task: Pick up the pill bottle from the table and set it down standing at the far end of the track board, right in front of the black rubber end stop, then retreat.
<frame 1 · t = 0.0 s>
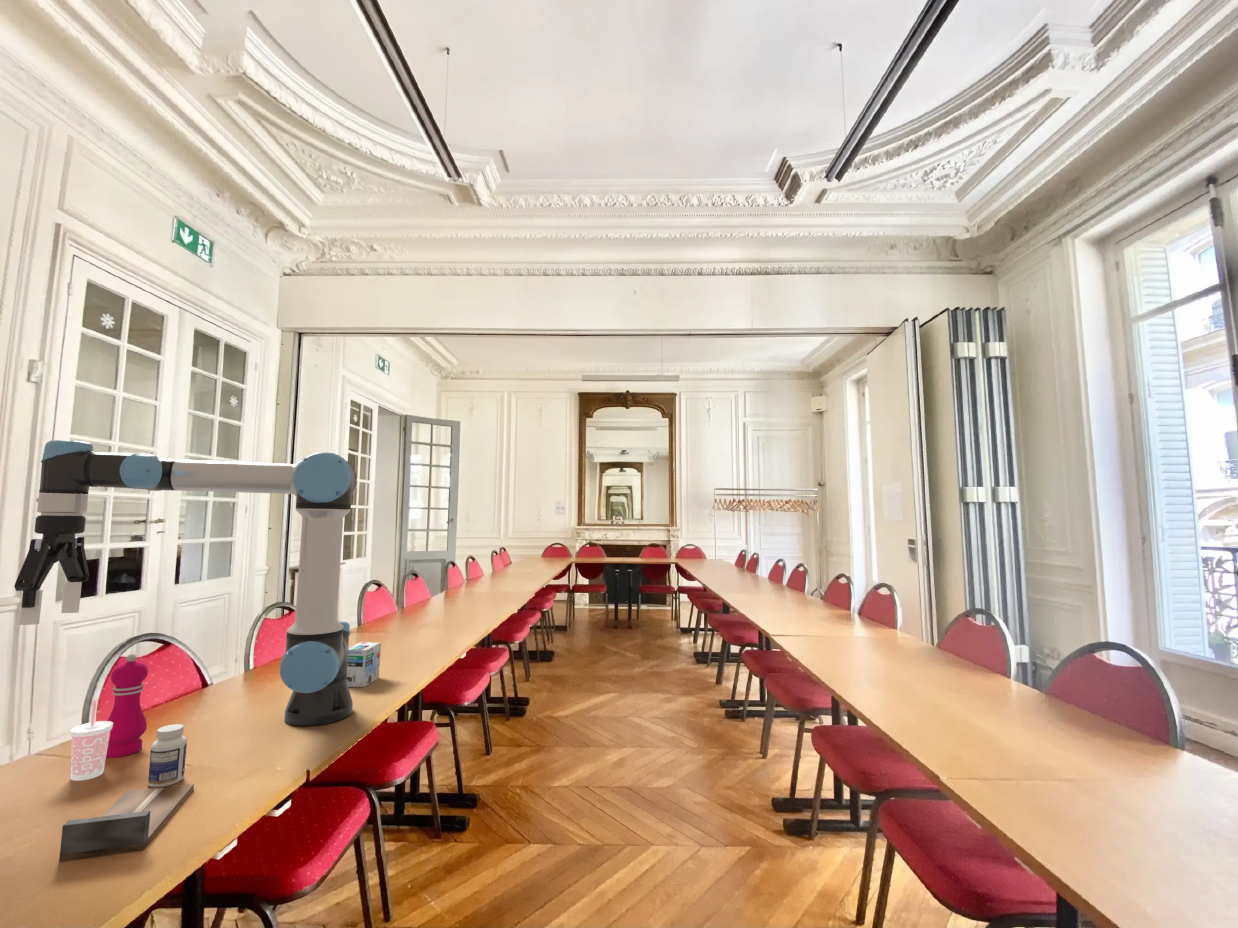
hand: (50, 618, 118), 28 cm above the table, tool pointing down, fingers open, 13 cm apart
track board: (134, 821, 94), on the table
pepper mill: (122, 752, 120), on the table
light bulb box: (361, 683, 172), on the table
beverage cup: (87, 776, 109), on the table
pill bottle: (165, 782, 108), on the table
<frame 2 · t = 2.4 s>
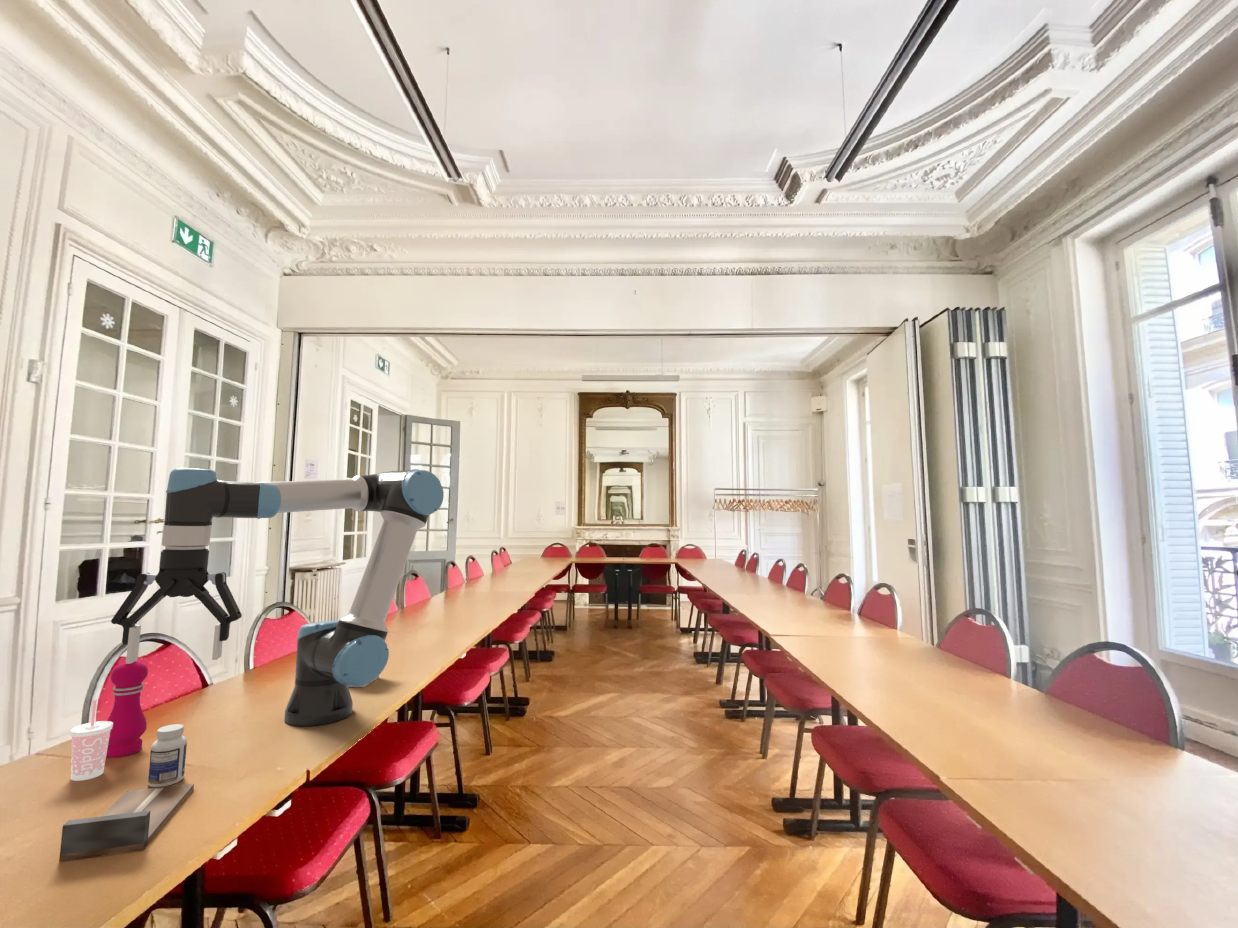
hand: (174, 660, 109), 22 cm above the table, tool pointing down, fingers open, 13 cm apart
nothing on the table moved.
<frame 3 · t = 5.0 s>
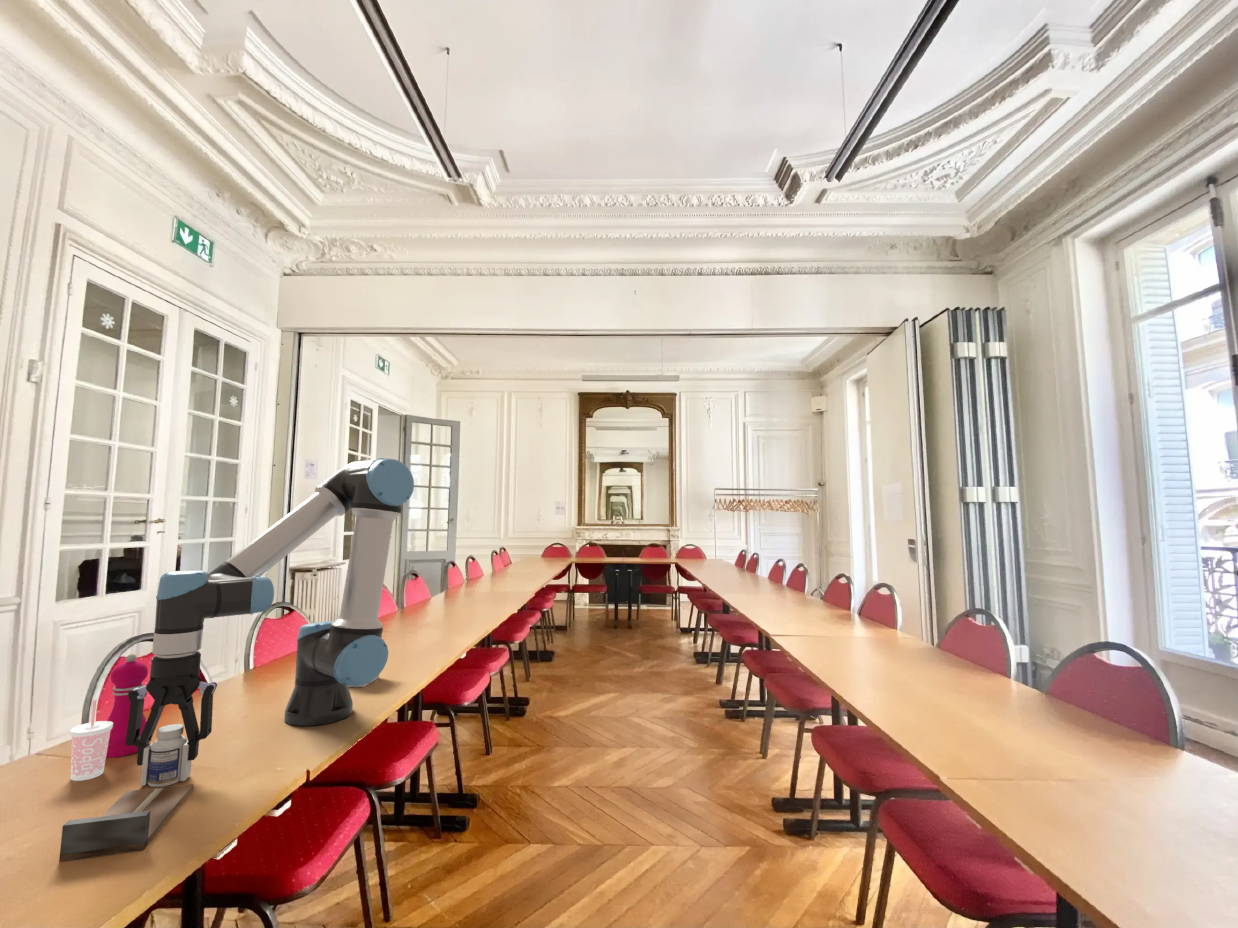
hand: (166, 779, 108), 0 cm above the table, tool pointing down, fingers closed on pill bottle, 5 cm apart
pill bottle: (165, 782, 108), on the table, touching gripper
everything else where it was.
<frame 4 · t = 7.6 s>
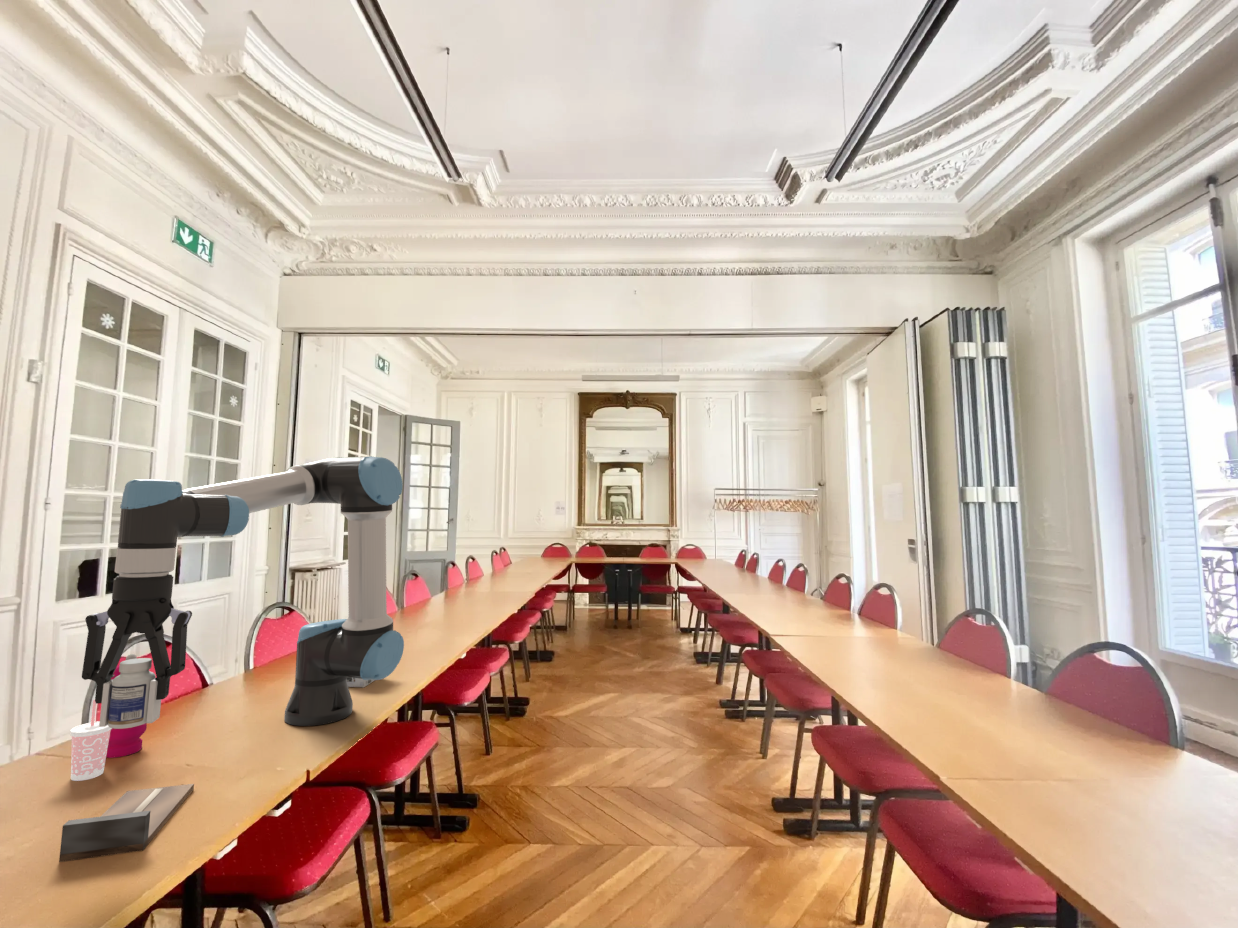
hand: (130, 721, 91), 17 cm above the table, tool pointing down, fingers closed on pill bottle, 5 cm apart
pill bottle: (129, 724, 91), point 17 cm above the table, touching gripper
everything else where it was.
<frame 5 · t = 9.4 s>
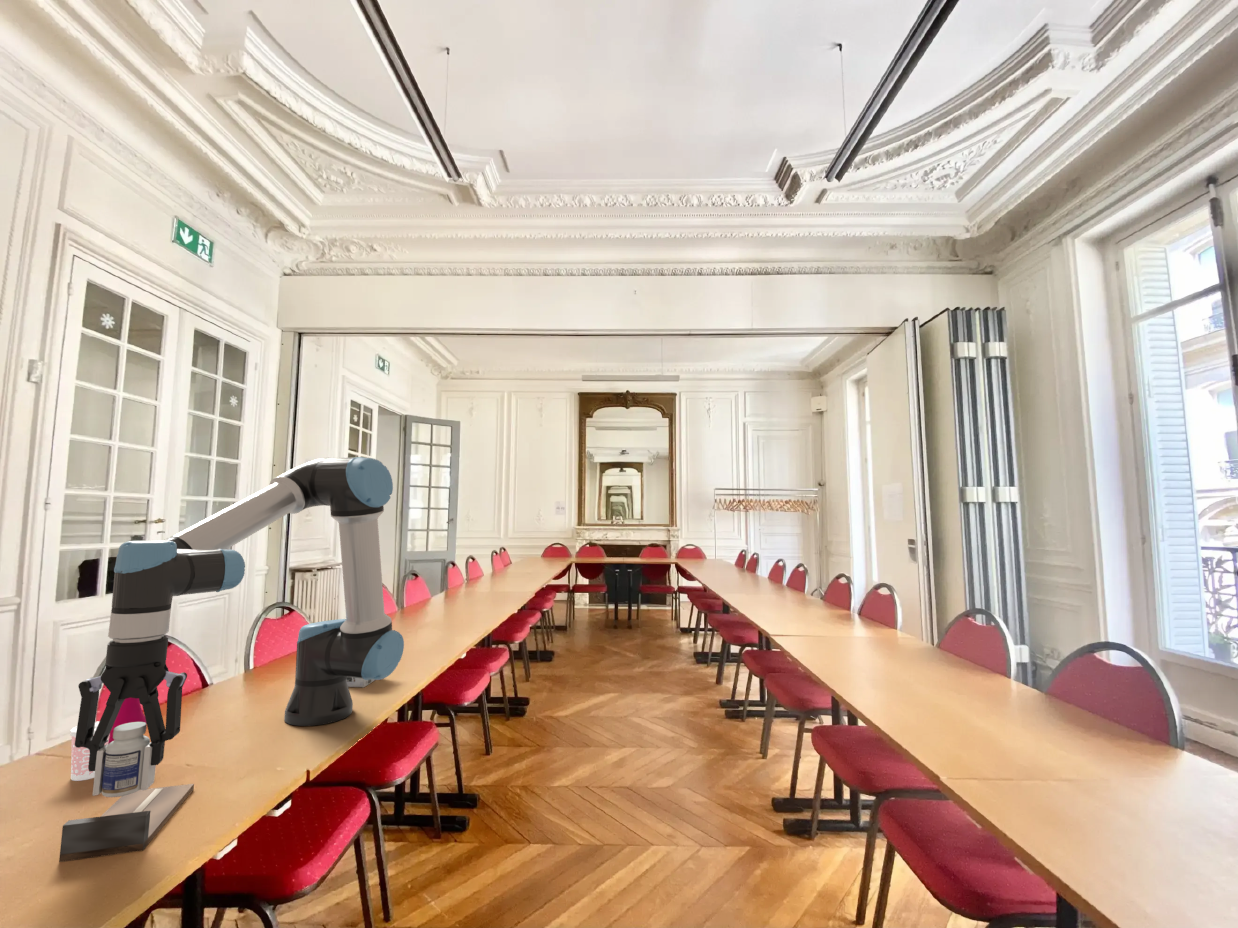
hand: (124, 788, 90), 7 cm above the table, tool pointing down, fingers closed on pill bottle, 5 cm apart
pill bottle: (123, 791, 90), point 7 cm above the table, touching gripper
everything else where it was.
when the fingers open (3 cm above the table, at t = 10.6 s): pill bottle drops 1 cm, resting on track board.
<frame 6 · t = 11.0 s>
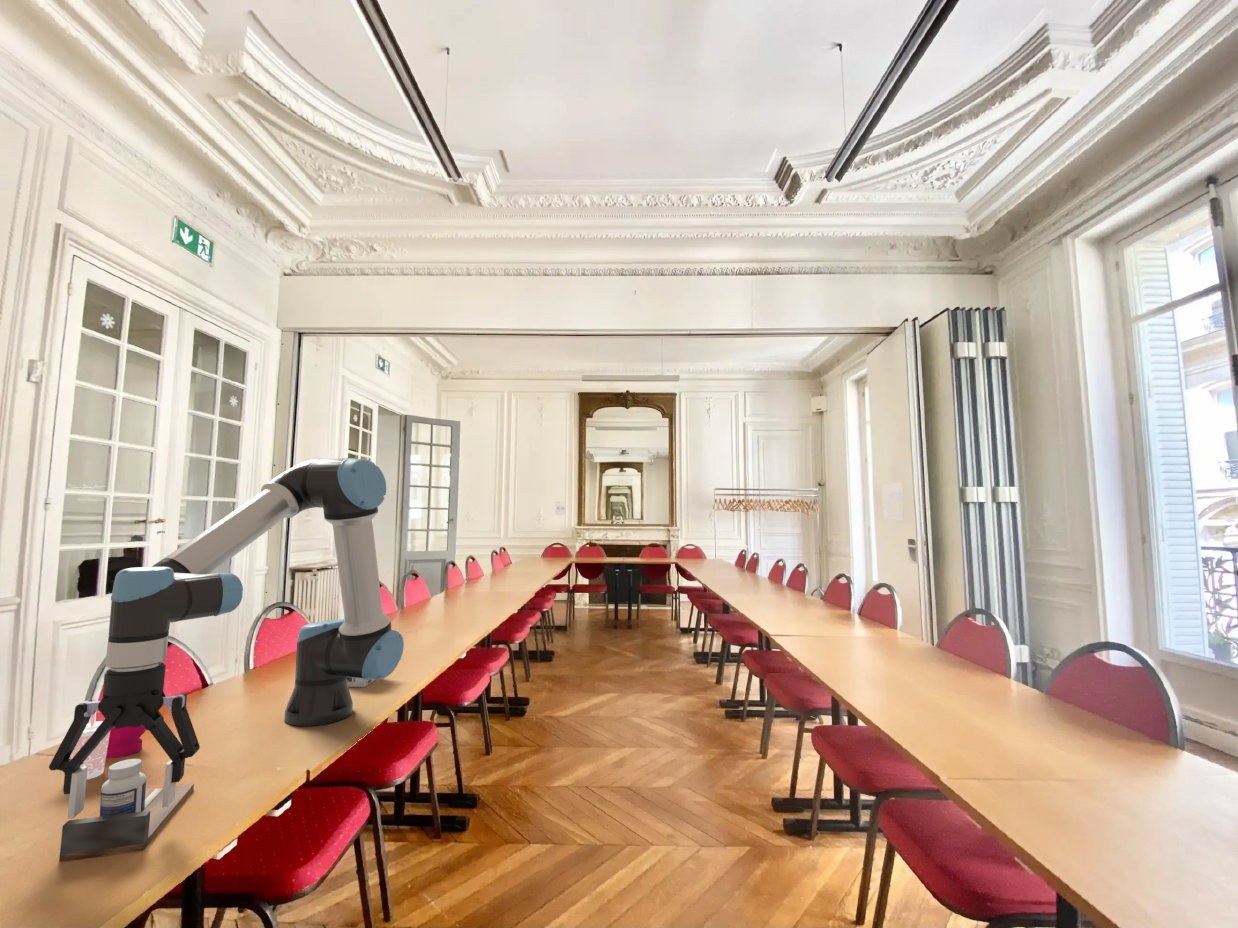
hand: (123, 808, 90), 4 cm above the table, tool pointing down, fingers open, 11 cm apart
pill bottle: (121, 829, 90), point 1 cm above the table, touching track board
everything else where it was.
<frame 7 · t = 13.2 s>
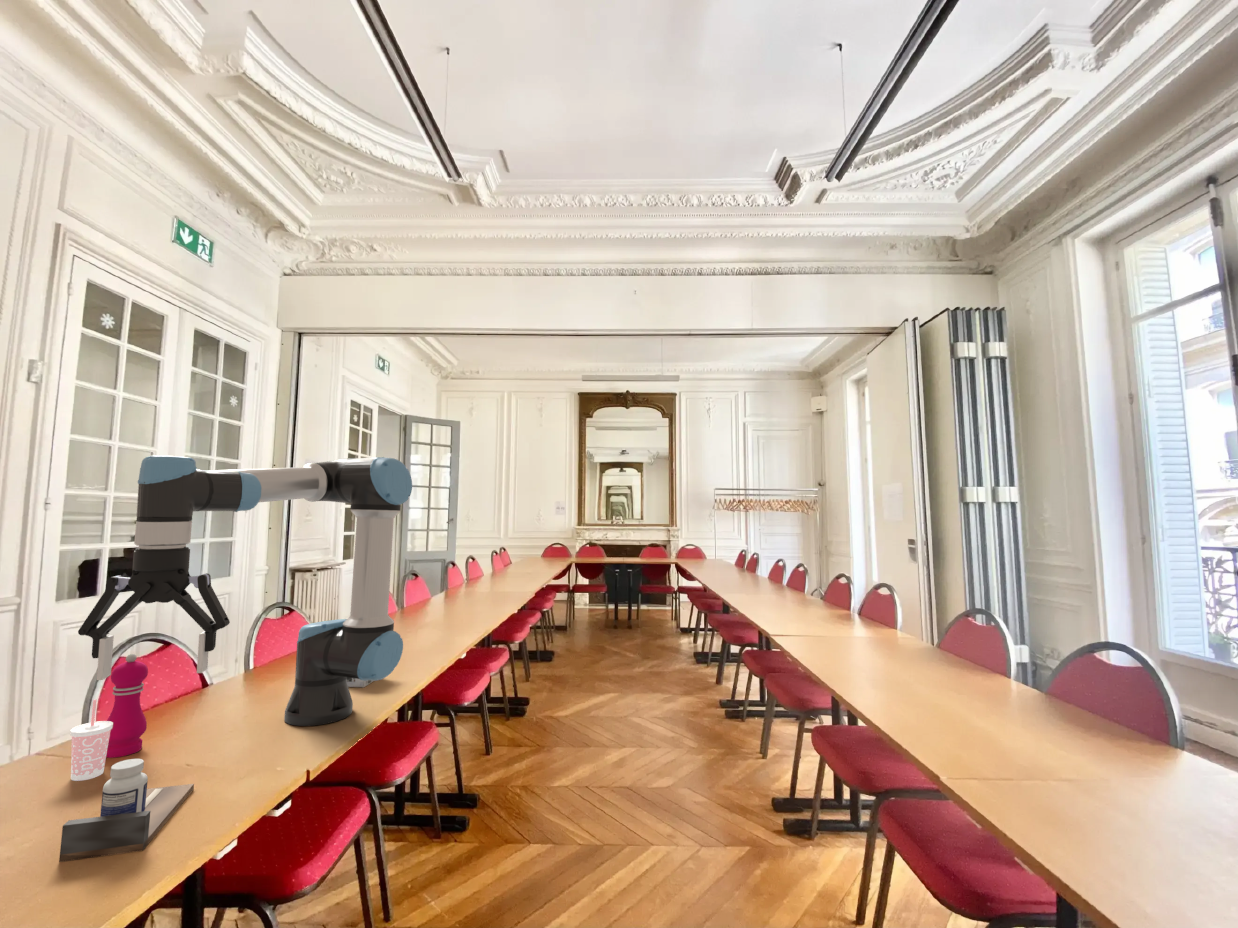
hand: (154, 674, 96), 23 cm above the table, tool pointing down, fingers open, 13 cm apart
nothing on the table moved.
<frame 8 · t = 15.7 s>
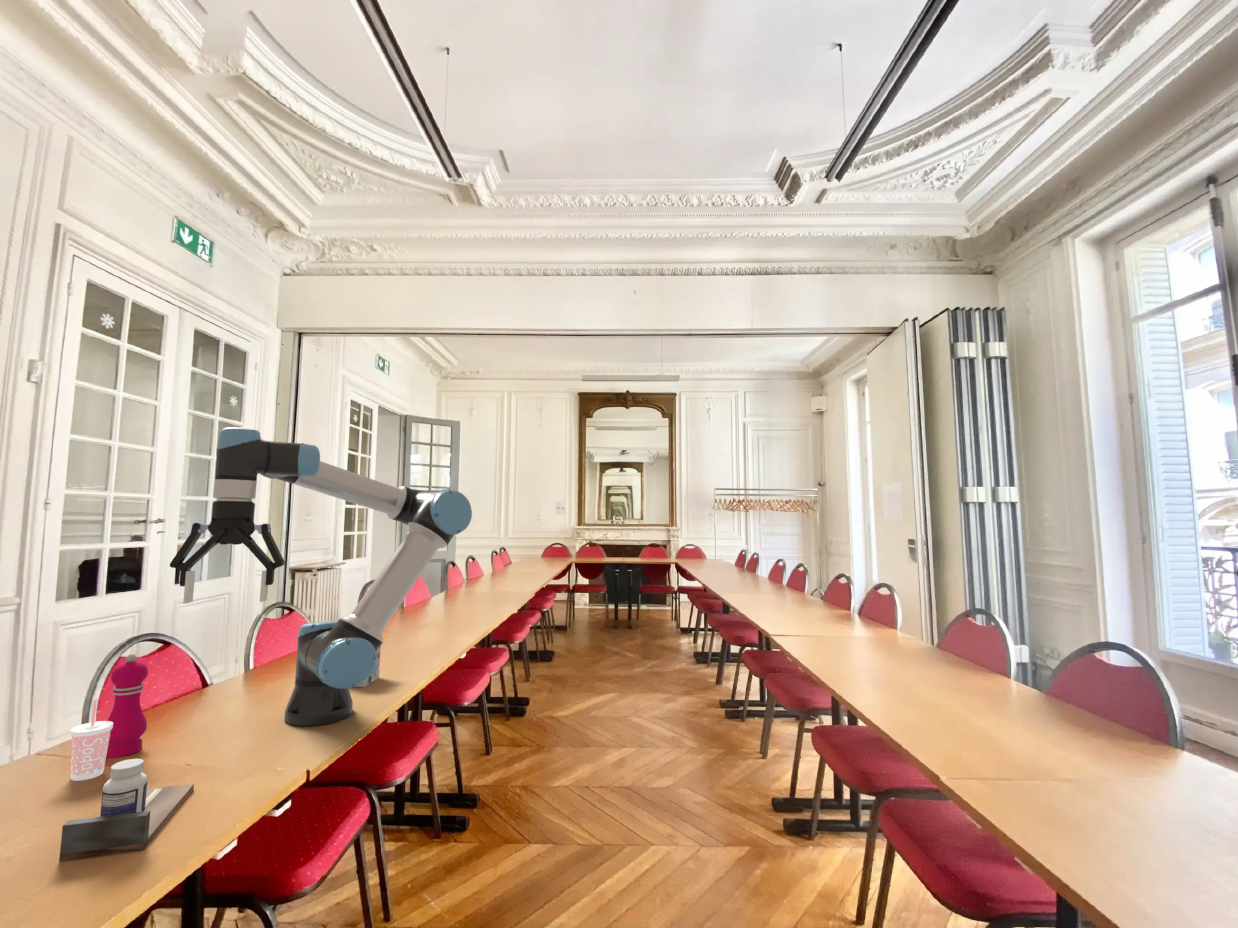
hand: (226, 601, 121), 32 cm above the table, tool pointing down, fingers open, 13 cm apart
nothing on the table moved.
at the end: pill bottle inside the target area (0.1 cm from its centre), point 0.9 cm above the table; pill bottle tilted 0°; the gripper is holding nothing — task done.
